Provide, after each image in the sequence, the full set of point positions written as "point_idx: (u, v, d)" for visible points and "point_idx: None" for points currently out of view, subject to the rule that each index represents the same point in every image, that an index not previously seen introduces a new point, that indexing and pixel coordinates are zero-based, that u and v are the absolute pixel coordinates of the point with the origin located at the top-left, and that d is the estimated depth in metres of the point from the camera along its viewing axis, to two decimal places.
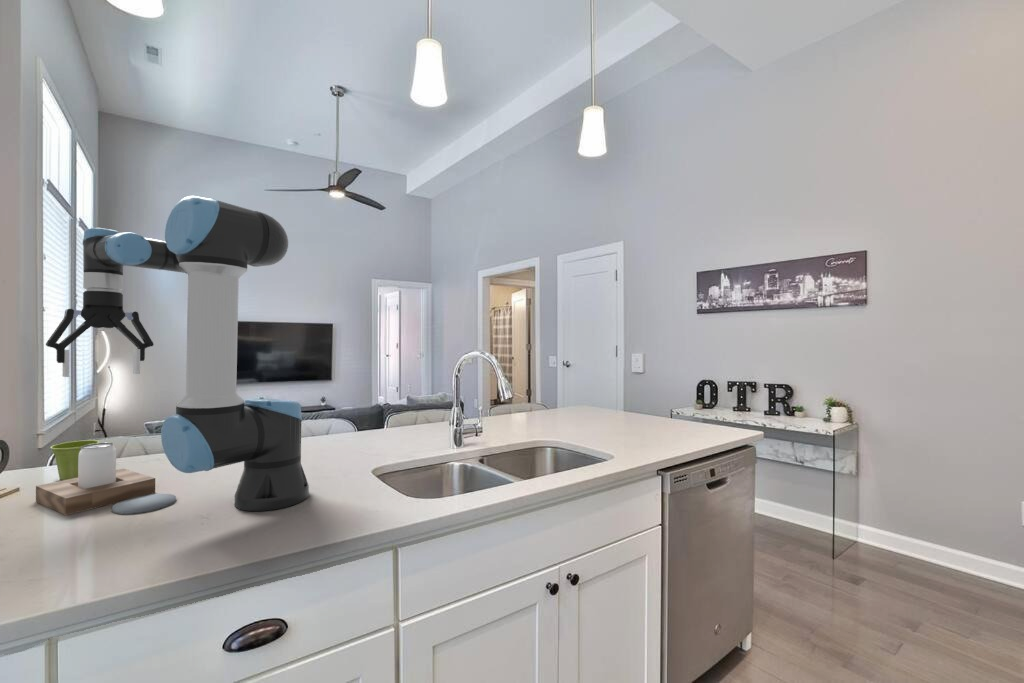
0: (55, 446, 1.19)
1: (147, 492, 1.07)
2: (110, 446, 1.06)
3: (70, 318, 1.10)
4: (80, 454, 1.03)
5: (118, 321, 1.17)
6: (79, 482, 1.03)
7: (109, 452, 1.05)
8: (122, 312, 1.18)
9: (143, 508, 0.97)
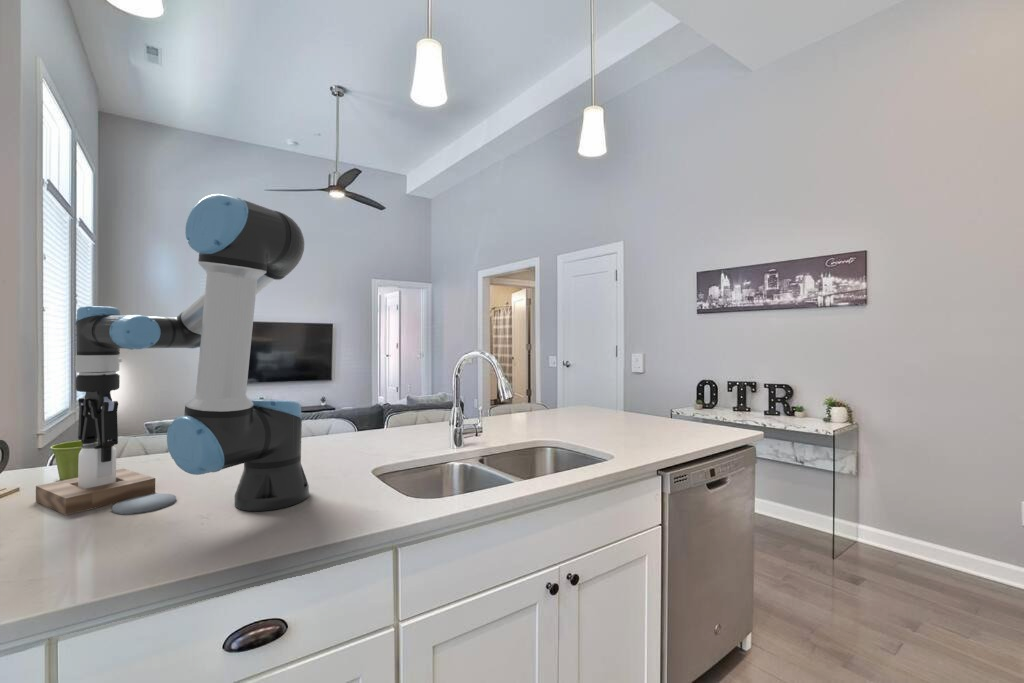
0: (55, 446, 1.19)
1: (147, 492, 1.07)
2: None
3: (80, 408, 1.07)
4: (80, 454, 1.03)
5: (92, 409, 1.03)
6: (79, 482, 1.03)
7: None
8: (99, 398, 1.03)
9: (143, 508, 0.97)
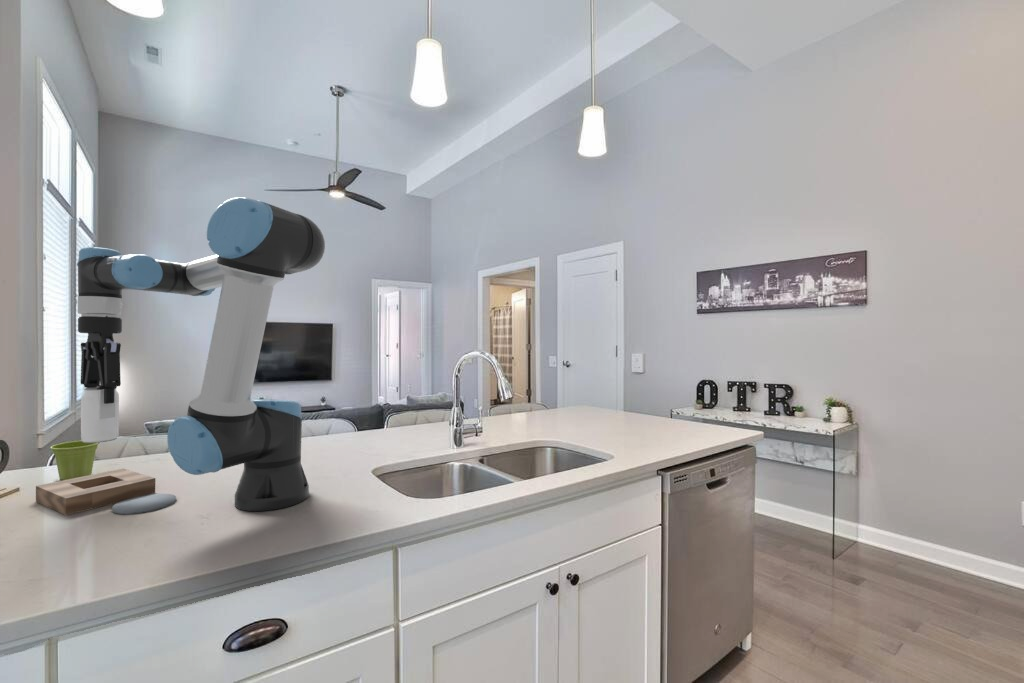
0: (55, 446, 1.19)
1: (147, 492, 1.07)
2: None
3: (82, 352, 1.07)
4: (83, 395, 1.02)
5: (95, 351, 1.03)
6: (82, 424, 1.02)
7: None
8: (102, 339, 1.03)
9: (143, 508, 0.97)
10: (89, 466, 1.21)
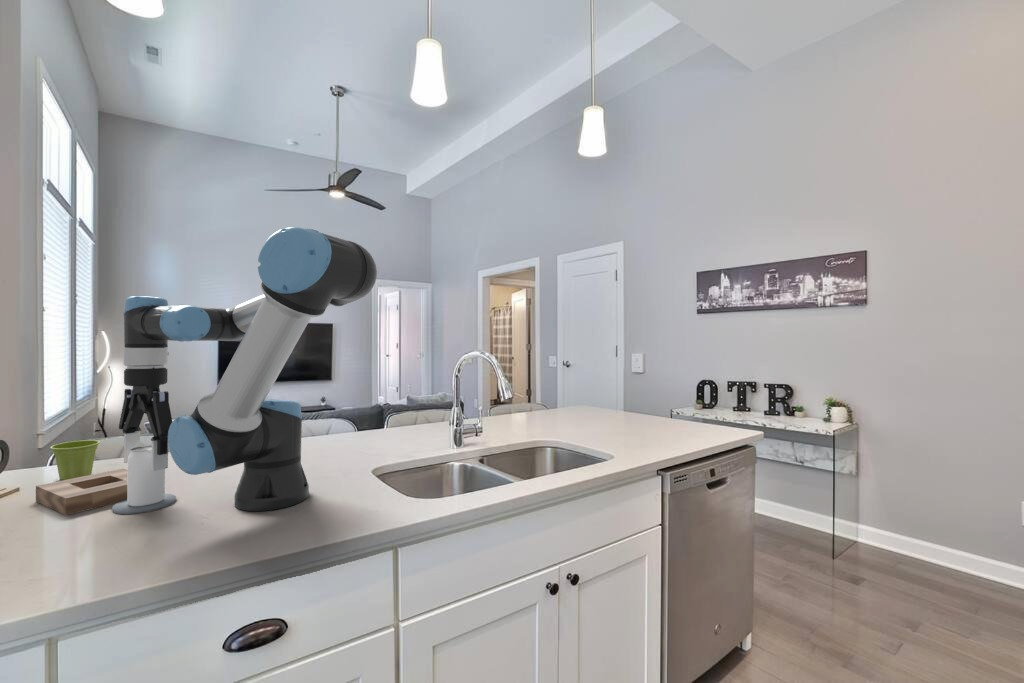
0: (55, 446, 1.19)
1: None
2: None
3: (125, 399, 1.03)
4: (130, 457, 0.98)
5: (142, 403, 0.98)
6: (129, 487, 0.98)
7: None
8: (148, 392, 0.98)
9: (143, 508, 0.97)
10: (89, 466, 1.21)
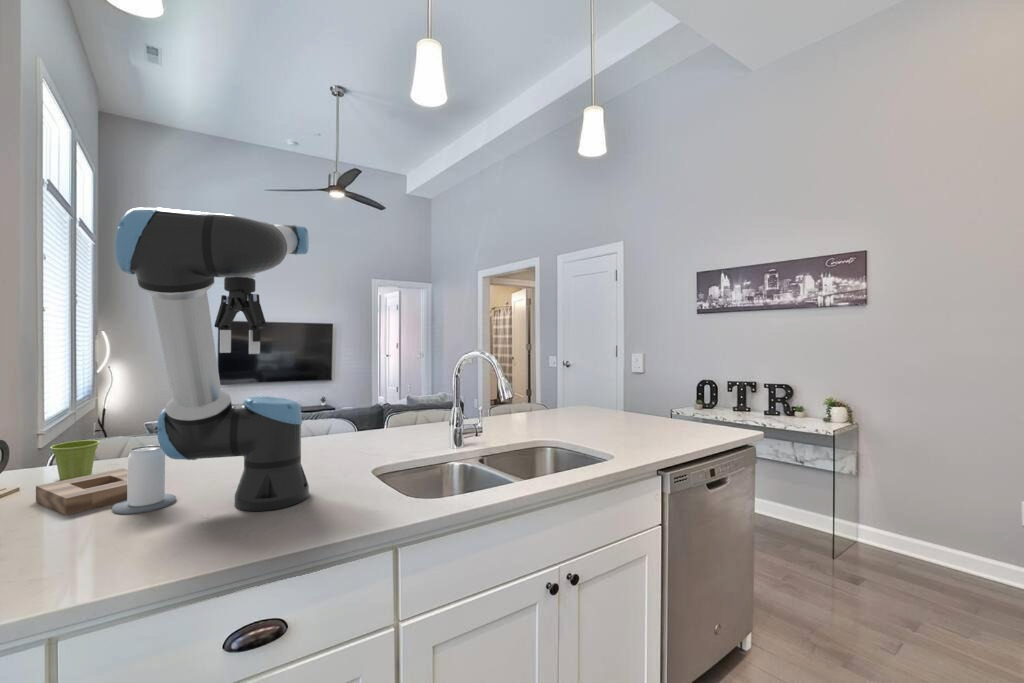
0: (55, 446, 1.19)
1: None
2: (160, 449, 1.01)
3: (222, 303, 1.30)
4: (130, 457, 0.98)
5: (239, 303, 1.25)
6: (129, 487, 0.98)
7: (159, 455, 1.00)
8: (243, 295, 1.26)
9: (143, 508, 0.97)
10: (89, 466, 1.21)
